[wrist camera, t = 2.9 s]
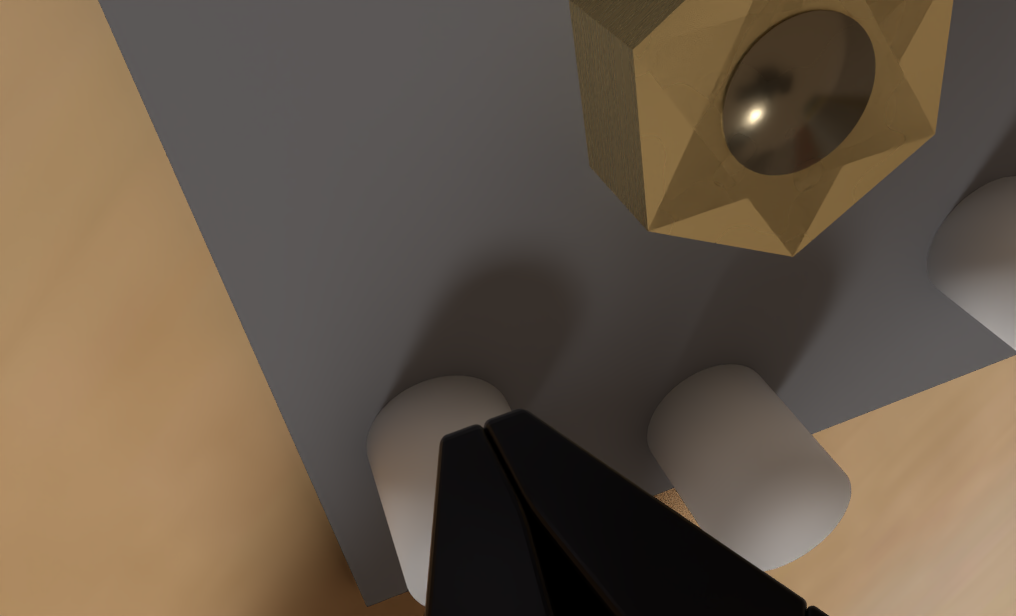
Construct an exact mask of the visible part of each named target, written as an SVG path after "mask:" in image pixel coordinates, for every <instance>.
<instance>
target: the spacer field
mask: <svg viewBox="0 0 1016 616" xmlns="http://www.w3.org/2000/svg"><path fill="white" fill-rule="evenodd" d="M98 1H99V3H100V5H101V8H102V10H103V12H104V14H105V17H106V19H107V21H108V23H109V26H110V28H111V30H112V33H113V35H114V37H115V39H116V42H117V44H118V46H119V48H120V51H121V53H122V55H123V57H124V60H125V62H126V64H127V66H128V69H129V71H130V73H131V75H132V78H133V80H134V82H135V84H136V87H137V89H138V91H139V93H140V96H141V98H142V100H143V102H144V105H145V107H146V109H147V112H148V114H149V116H150V118H151V121H152V123H153V125H154V127H155V130H156V132H157V134H158V136H159V139H160V141H161V143H162V145H163V148H164V150H165V152H166V154H167V157H168V159H169V161H170V163H171V166H172V168H173V170H174V172H175V175H176V177H177V179H178V181H179V184H180V186H181V188H182V191H183V193H184V195H185V197H186V200H187V202H188V204H189V206H190V209H191V211H192V213H193V215H194V218H195V220H196V222H197V224H198V227H199V229H200V231H201V233H202V236H203V238H204V240H205V242H206V245H207V247H208V249H209V251H210V254H211V256H212V258H213V261H214V263H215V265H216V267H217V270H218V272H219V274H220V276H221V279H222V281H223V283H224V285H225V288H226V290H227V292H228V294H229V297H230V299H231V301H232V303H233V306H234V308H235V310H236V312H237V315H238V317H239V319H240V321H241V324H242V326H243V328H244V330H245V333H246V335H247V337H248V340H249V342H250V344H251V346H252V349H253V351H254V353H255V355H256V358H257V360H258V362H259V364H260V367H261V369H262V371H263V373H264V376H265V378H266V380H267V382H268V385H269V387H270V389H271V391H272V394H273V396H274V398H275V400H276V403H277V405H278V407H279V410H280V412H281V414H282V416H283V419H284V421H285V423H286V425H287V428H288V430H289V432H290V434H291V437H292V439H293V441H294V443H295V446H296V448H297V450H298V452H299V455H300V457H301V459H302V461H303V464H304V466H305V468H306V470H307V473H308V475H309V477H310V479H311V482H312V484H313V486H314V489H315V491H316V493H317V495H318V498H319V500H320V502H321V504H322V507H323V509H324V511H325V513H326V516H327V518H328V520H329V522H330V525H331V527H332V529H333V531H334V534H335V536H336V538H337V540H338V543H339V545H340V547H341V549H342V552H343V554H344V556H345V558H346V561H347V563H348V565H349V568H350V570H351V572H352V574H353V577H354V579H355V581H356V583H357V586H358V588H359V590H360V592H361V595H362V597H363V599H364V601H365V604H366V606H367V607H368V606H371V605H374V604H376V603H379V602H381V601H384V600H386V599H389V598H392V597H394V596H397V595H399V594H402V593H404V592H407V591H409V592H410V594H411V595H412V596H413V597H414V599H415V600H416V601H418V602H419V603H420V604H422V605H423V606H425V603H426V591H427V580H428V568H429V557H430V545H431V534H432V523H433V511H434V500H435V488H436V477H437V465H438V454H439V444H440V441H441V438H442V437H443V436H444V435H446V434H449V433H452V432H455V431H457V430H460V429H463V428H466V427H468V426H471V425H474V424H478V425H481V426H482V427H483V428H484V424H485V422H486V421H487V420H488V419H490V418H493V417H496V416H499V415H501V414H504V413H507V412H510V411H512V410H515V409H519V408H521V409H525V410H527V411H529V412H531V413H532V414H534V415H535V416H536V417H538V418H539V419H541V420H542V421H544V422H545V423H547V424H548V425H550V426H551V427H553V428H554V429H556V430H557V431H558V432H560V433H561V434H563V435H564V436H566V437H567V438H569V439H570V440H572V441H573V442H575V443H576V444H578V445H579V446H580V447H582V448H583V449H585V450H586V451H588V452H589V453H591V454H592V455H594V456H595V457H597V458H598V459H599V460H601V461H602V462H604V463H605V464H607V465H608V466H610V467H611V468H613V469H614V470H616V471H617V472H619V473H620V474H621V475H623V476H624V477H626V478H627V479H629V480H630V481H632V482H633V483H635V484H636V485H638V486H639V487H641V488H642V489H643V490H645V491H646V492H648V493H649V494H651V495H652V496H654V495H657V494H659V493H662V492H664V491H667V490H670V489H672V488H675V489H676V491H677V492H678V494H679V495H680V497H681V498H682V500H683V501H684V503H685V505H686V506H687V508H688V509H689V511H690V512H691V514H692V515H693V517H694V518H695V520H696V521H697V523H698V524H699V526H700V527H701V529H702V530H704V531H705V532H706V533H708V534H709V535H711V536H712V537H714V538H715V539H717V540H718V541H720V542H721V543H723V544H724V545H725V546H727V547H728V548H730V549H731V550H733V551H734V552H736V553H737V554H739V555H740V556H742V557H743V558H745V559H746V560H747V561H749V562H750V563H752V564H753V565H755V566H756V567H758V568H759V569H761V570H762V571H768V570H772V569H775V568H778V567H781V566H783V565H786V564H788V563H790V562H792V561H794V560H796V559H798V558H800V557H801V556H803V555H804V554H806V553H808V552H809V551H810V550H812V549H813V548H814V547H816V546H817V545H818V544H819V543H821V542H822V541H823V540H824V539H825V538H826V537H827V536H828V535H829V534H830V533H831V532H832V531H833V529H834V528H835V527H836V526H837V524H838V523H839V522H840V520H841V519H842V517H843V515H844V514H845V511H846V509H847V507H848V504H849V501H850V497H851V484H850V481H849V478H848V476H847V475H846V474H845V473H844V471H843V470H842V469H841V468H840V467H839V466H838V464H837V463H836V462H835V461H834V460H833V459H832V458H831V456H830V455H829V454H828V453H827V452H826V451H825V450H824V448H823V447H822V446H821V445H820V444H819V443H818V442H817V440H816V439H815V438H814V437H813V436H812V435H811V434H814V433H816V432H819V431H821V430H824V429H826V428H829V427H832V426H834V425H837V424H839V423H842V422H844V421H847V420H850V419H852V418H855V417H857V416H860V415H863V414H865V413H868V412H870V411H873V410H875V409H878V408H881V407H883V406H886V405H888V404H891V403H893V402H896V401H899V400H901V399H904V398H906V397H909V396H911V395H914V394H917V393H919V392H922V391H924V390H927V389H929V388H932V387H935V386H937V385H940V384H942V383H945V382H947V381H950V380H953V379H955V378H958V377H960V376H963V375H965V374H968V373H971V372H973V371H976V370H978V369H981V368H983V367H986V366H989V365H991V364H994V363H996V362H999V361H1001V360H1004V359H1007V358H1009V357H1012V356H1014V355H1016V0H953V7H952V15H951V22H950V29H949V37H948V44H947V51H946V59H945V66H944V73H943V81H942V88H941V95H940V103H939V110H938V117H937V125H936V132H935V135H934V136H932V137H931V138H930V139H929V140H928V141H927V142H925V143H924V144H923V145H922V146H921V147H920V148H919V149H917V150H916V151H915V152H914V153H913V154H912V155H910V156H909V157H908V158H907V159H906V160H905V161H903V162H902V163H901V164H900V165H899V166H898V167H897V168H895V169H894V170H893V171H892V172H891V173H890V174H888V175H887V176H886V177H885V178H884V179H883V180H881V181H880V182H879V183H878V184H877V185H876V186H875V187H873V188H872V189H871V190H870V191H869V192H868V193H866V194H865V195H864V196H863V197H862V198H861V199H859V200H858V201H857V202H856V203H855V204H854V205H853V206H851V207H850V208H849V209H848V210H847V211H846V212H844V213H843V214H842V215H841V216H840V217H839V218H837V219H836V220H835V221H834V222H833V223H832V224H831V225H829V226H828V227H827V228H826V229H825V230H824V231H822V232H821V233H820V234H819V235H818V236H817V237H815V238H814V239H813V240H812V241H811V242H810V243H809V244H807V245H806V246H805V247H804V248H803V249H802V250H800V251H799V252H798V253H797V254H796V255H795V256H793V257H791V256H786V255H780V254H774V253H769V252H763V251H757V250H751V249H746V248H740V247H734V246H729V245H723V244H717V243H712V242H706V241H700V240H694V239H689V238H683V237H677V236H672V235H666V234H660V233H655V232H649V231H647V230H646V229H645V228H644V226H643V225H642V224H641V223H640V222H639V221H638V220H637V219H636V218H635V216H634V215H633V214H632V213H631V212H630V211H629V210H628V209H627V208H626V206H625V205H624V204H623V203H622V202H621V201H620V200H619V199H618V197H617V196H616V195H615V194H614V193H613V192H612V191H611V190H610V189H609V187H608V186H607V185H606V184H605V183H604V182H603V181H602V180H601V179H600V177H599V176H598V175H597V174H596V173H595V172H594V171H593V170H592V169H591V167H590V166H589V159H588V151H587V143H586V135H585V127H584V119H583V111H582V103H581V95H580V87H579V79H578V71H577V63H576V55H575V46H574V38H573V30H572V22H571V14H570V6H569V0H98Z"/></svg>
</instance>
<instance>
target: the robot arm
mask: <svg viewBox="0 0 1016 616" xmlns="http://www.w3.org/2000/svg"><path fill="white" fill-rule="evenodd" d="M424 616H829V615H827V614H826V613H824V612H823V611H821V610H820V609H818V608H817V607H815V606H810V607H808V608H807V603H806V601H805V600H804V599H803V598H802V597H800V596H799V595H797V594H796V593H794V592H793V591H791V590H790V589H788V588H787V587H786V586H784V585H783V584H781V583H780V582H778V581H777V580H775V579H774V578H772V577H771V576H769V575H768V574H766V573H765V572H764V571H762V570H761V569H759V568H758V567H756V566H755V565H753V564H752V563H750V562H749V561H747V560H746V559H745V558H743V557H742V556H740V555H739V554H737V553H736V552H734V551H733V550H731V549H730V548H728V547H727V546H725V545H724V544H723V543H721V542H720V541H718V540H717V539H715V538H714V537H712V536H711V535H709V534H708V533H706V532H705V531H704V530H702V529H701V528H699V527H698V526H696V525H695V524H693V523H692V522H690V521H689V520H687V519H686V518H684V517H683V516H682V515H680V514H679V513H677V512H676V511H674V510H673V509H671V508H670V507H668V506H667V505H665V504H664V503H662V502H661V501H660V500H658V499H657V498H655V497H654V496H652V495H651V494H649V493H648V492H646V491H645V490H643V489H642V488H641V487H639V486H638V485H636V484H635V483H633V482H632V481H630V480H629V479H627V478H626V477H624V476H623V475H621V474H620V473H619V472H617V471H616V470H614V469H613V468H611V467H610V466H608V465H607V464H605V463H604V462H602V461H601V460H599V459H598V458H597V457H595V456H594V455H592V454H591V453H589V452H588V451H586V450H585V449H583V448H582V447H580V446H579V445H578V444H576V443H575V442H573V441H572V440H570V439H569V438H567V437H566V436H564V435H563V434H561V433H560V432H558V431H557V430H556V429H554V428H553V427H551V426H550V425H548V424H547V423H545V422H544V421H542V420H541V419H539V418H538V417H536V416H535V415H534V414H532V413H531V412H529V411H527V410H525V409H521V408H519V409H515V410H512V411H510V412H507V413H504V414H501V415H499V416H496V417H493V418H490V419H488V420H487V421H486V422H485V424H484V428H483V427H482V426H481V425H478V424H474V425H471V426H468V427H466V428H463V429H460V430H457V431H455V432H452V433H449V434H446V435H444V436H443V437H442V438H441V441H440V444H439V454H438V465H437V477H436V488H435V500H434V511H433V523H432V534H431V545H430V557H429V568H428V580H427V591H426V603H425V614H424Z"/></svg>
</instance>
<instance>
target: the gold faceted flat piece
mask: <svg viewBox="0 0 1016 616" xmlns="http://www.w3.org/2000/svg"><path fill="white" fill-rule="evenodd" d="M569 6H570V14H571V22H572V30H573V38H574V46H575V55H576V63H577V71H578V79H579V87H580V95H581V103H582V111H583V119H584V127H585V135H586V143H587V151H588V159H589V166H590V167H591V169H592V170H593V171H594V172H595V173H596V174H597V175H598V176H599V177H600V179H601V180H602V181H603V182H604V183H605V184H606V185H607V186H608V187H609V189H610V190H611V191H612V192H613V193H614V194H615V195H616V196H617V197H618V199H619V200H620V201H621V202H622V203H623V204H624V205H625V206H626V208H627V209H628V210H629V211H630V212H631V213H632V214H633V215H634V216H635V218H636V219H637V220H638V221H639V222H640V223H641V224H642V225H643V226H644V228H645V229H646V230H647V231H649V232H655V233H660V234H666V235H672V236H677V237H683V238H689V239H694V240H700V241H706V242H712V243H717V244H723V245H729V246H734V247H740V248H746V249H751V250H757V251H763V252H769V253H774V254H780V255H786V256H791V257H793V256H795V255H796V254H797V253H798V252H799V251H800V250H802V249H803V248H804V247H805V246H806V245H807V244H809V243H810V242H811V241H812V240H813V239H814V238H815V237H817V236H818V235H819V234H820V233H821V232H822V231H824V230H825V229H826V228H827V227H828V226H829V225H831V224H832V223H833V222H834V221H835V220H836V219H837V218H839V217H840V216H841V215H842V214H843V213H844V212H846V211H847V210H848V209H849V208H850V207H851V206H853V205H854V204H855V203H856V202H857V201H858V200H859V199H861V198H862V197H863V196H864V195H865V194H866V193H868V192H869V191H870V190H871V189H872V188H873V187H875V186H876V185H877V184H878V183H879V182H880V181H881V180H883V179H884V178H885V177H886V176H887V175H888V174H890V173H891V172H892V171H893V170H894V169H895V168H897V167H898V166H899V165H900V164H901V163H902V162H903V161H905V160H906V159H907V158H908V157H909V156H910V155H912V154H913V153H914V152H915V151H916V150H917V149H919V148H920V147H921V146H922V145H923V144H924V143H925V142H927V141H928V140H929V139H930V138H931V137H932V136H934V135H935V132H936V125H937V117H938V110H939V103H940V95H941V88H942V81H943V73H944V66H945V59H946V51H947V44H948V37H949V29H950V22H951V15H952V7H953V0H569Z"/></svg>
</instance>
